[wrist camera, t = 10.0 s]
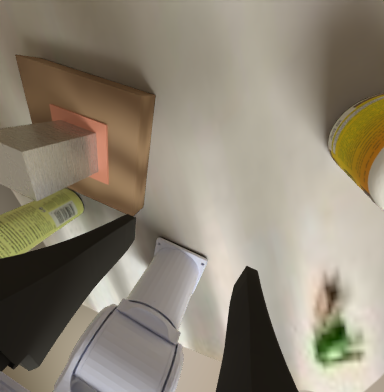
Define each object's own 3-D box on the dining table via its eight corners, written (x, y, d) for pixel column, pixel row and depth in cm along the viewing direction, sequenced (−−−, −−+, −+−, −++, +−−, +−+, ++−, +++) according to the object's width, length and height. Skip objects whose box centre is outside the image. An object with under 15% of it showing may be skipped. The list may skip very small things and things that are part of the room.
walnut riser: (143, 206, 25) (131, 217, 23) (62, 171, 28) (44, 178, 25) (155, 95, 18) (139, 95, 15) (41, 58, 20) (12, 54, 18)
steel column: (98, 171, 21) (36, 201, 16) (67, 158, 22) (-3, 182, 16) (96, 133, 19) (21, 152, 13) (60, 119, 20) (-25, 132, 14)
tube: (59, 204, 32) (-144, 318, 16) (55, 180, 29) (-197, 289, 13) (86, 218, 31) (-100, 351, 15) (84, 194, 29) (-147, 327, 13)
